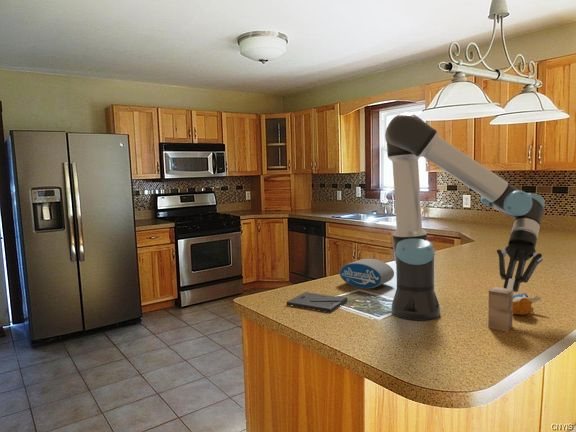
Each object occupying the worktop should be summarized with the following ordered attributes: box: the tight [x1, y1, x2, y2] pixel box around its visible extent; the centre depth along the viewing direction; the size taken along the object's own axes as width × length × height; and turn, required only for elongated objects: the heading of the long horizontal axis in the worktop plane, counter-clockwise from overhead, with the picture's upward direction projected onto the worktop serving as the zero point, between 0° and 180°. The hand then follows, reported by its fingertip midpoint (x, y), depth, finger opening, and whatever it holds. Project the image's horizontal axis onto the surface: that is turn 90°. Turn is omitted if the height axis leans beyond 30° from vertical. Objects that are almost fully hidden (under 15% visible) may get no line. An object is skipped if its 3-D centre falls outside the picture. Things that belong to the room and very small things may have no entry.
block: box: [487, 286, 514, 332], centre depth 119 cm, size 5×5×11 cm
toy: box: [513, 291, 542, 316], centre depth 132 cm, size 12×6×15 cm
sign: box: [338, 258, 395, 289], centre depth 169 cm, size 20×10×10 cm, turn 48°
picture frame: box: [286, 291, 349, 313], centre depth 148 cm, size 13×2×18 cm
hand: (508, 299), depth 122 cm, fingers closed
